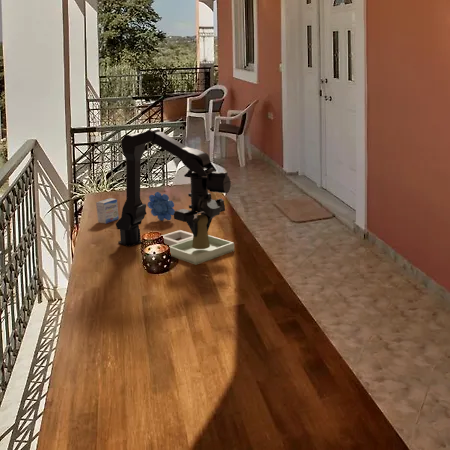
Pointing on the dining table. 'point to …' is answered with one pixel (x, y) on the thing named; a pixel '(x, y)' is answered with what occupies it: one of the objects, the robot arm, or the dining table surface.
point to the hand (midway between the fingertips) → (200, 235)
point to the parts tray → (201, 250)
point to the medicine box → (107, 210)
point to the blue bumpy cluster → (161, 206)
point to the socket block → (177, 237)
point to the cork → (201, 234)
